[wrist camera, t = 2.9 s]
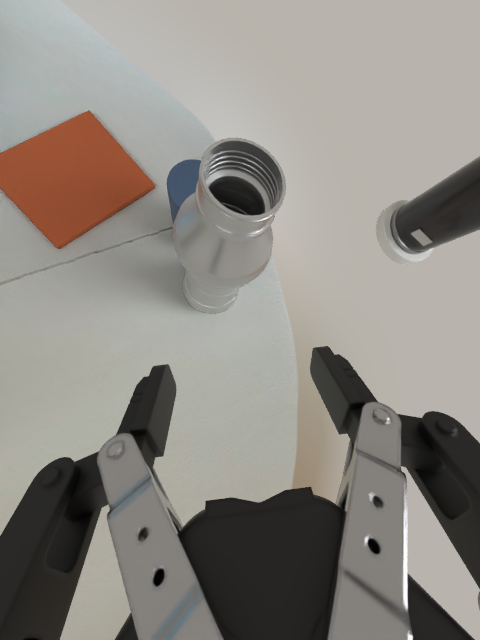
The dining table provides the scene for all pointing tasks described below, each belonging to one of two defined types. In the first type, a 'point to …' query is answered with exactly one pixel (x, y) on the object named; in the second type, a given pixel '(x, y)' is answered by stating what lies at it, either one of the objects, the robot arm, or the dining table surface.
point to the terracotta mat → (71, 178)
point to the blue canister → (182, 183)
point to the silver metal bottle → (228, 222)
